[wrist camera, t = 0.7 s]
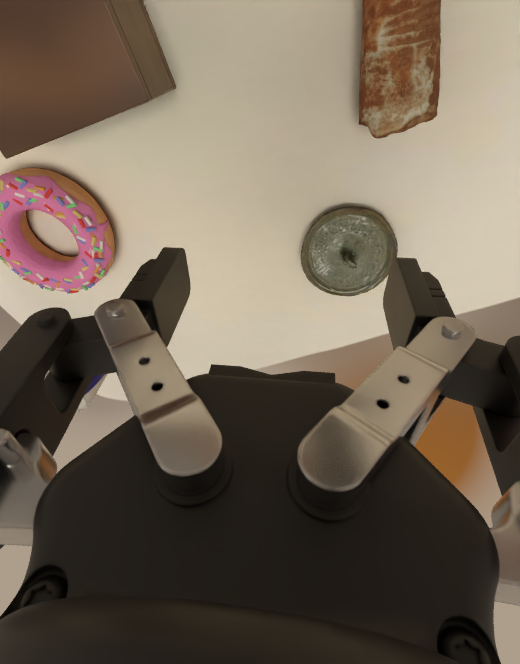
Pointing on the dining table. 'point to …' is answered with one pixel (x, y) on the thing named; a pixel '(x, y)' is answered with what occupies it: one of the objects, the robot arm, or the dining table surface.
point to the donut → (73, 211)
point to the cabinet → (73, 66)
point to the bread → (399, 64)
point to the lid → (348, 251)
